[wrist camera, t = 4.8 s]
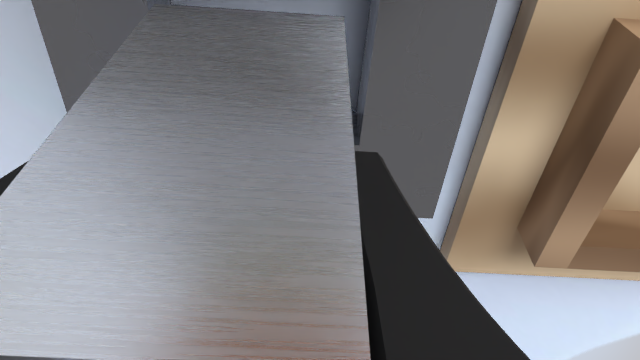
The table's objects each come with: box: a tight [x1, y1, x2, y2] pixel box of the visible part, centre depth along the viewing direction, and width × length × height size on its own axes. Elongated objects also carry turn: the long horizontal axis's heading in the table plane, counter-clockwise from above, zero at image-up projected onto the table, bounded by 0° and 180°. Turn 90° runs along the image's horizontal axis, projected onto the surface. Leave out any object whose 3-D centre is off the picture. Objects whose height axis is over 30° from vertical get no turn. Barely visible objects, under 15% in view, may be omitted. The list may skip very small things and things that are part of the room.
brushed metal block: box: [0, 4, 371, 360], centre depth 8 cm, size 4×4×8 cm
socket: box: [31, 0, 497, 218], centre depth 14 cm, size 12×12×2 cm
